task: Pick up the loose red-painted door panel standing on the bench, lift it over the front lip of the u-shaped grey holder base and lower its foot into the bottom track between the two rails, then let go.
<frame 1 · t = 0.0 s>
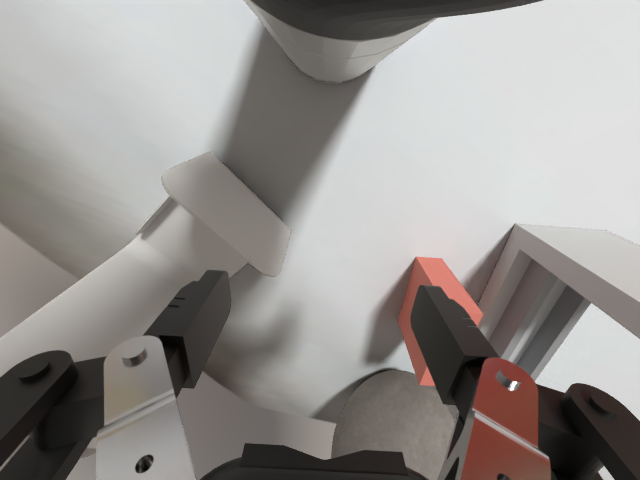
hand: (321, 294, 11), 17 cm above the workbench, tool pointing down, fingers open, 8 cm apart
u-shaped grey holder: (514, 311, 34), on the workbench
wall lamp: (195, 247, 30), on the workbench
planter: (374, 376, 41), on the workbench
door panel: (418, 291, 33), on the workbench
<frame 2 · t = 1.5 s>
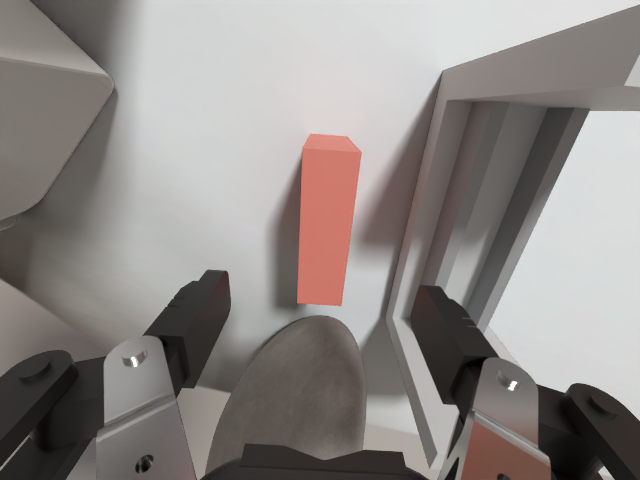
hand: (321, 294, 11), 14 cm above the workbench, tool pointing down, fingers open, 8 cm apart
u-shaped grey holder: (460, 224, 25), on the workbench
planter: (292, 331, 31), on the workbench
door panel: (324, 194, 24), on the workbench
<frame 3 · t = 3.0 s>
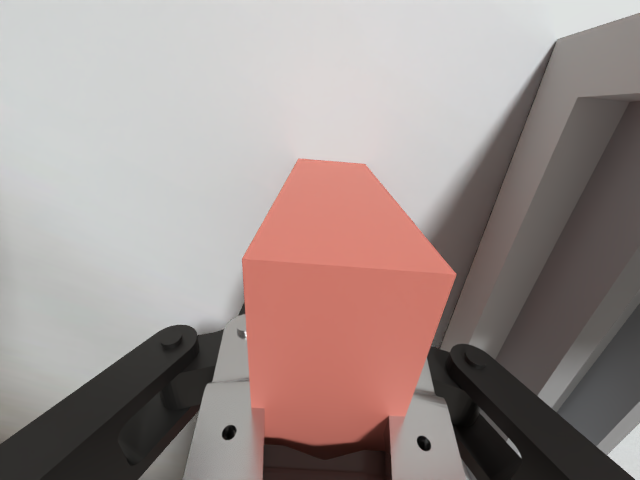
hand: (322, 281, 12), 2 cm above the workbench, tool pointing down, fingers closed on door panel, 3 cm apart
u-shaped grey holder: (544, 303, 15), on the workbench
door panel: (322, 257, 14), on the workbench, touching gripper
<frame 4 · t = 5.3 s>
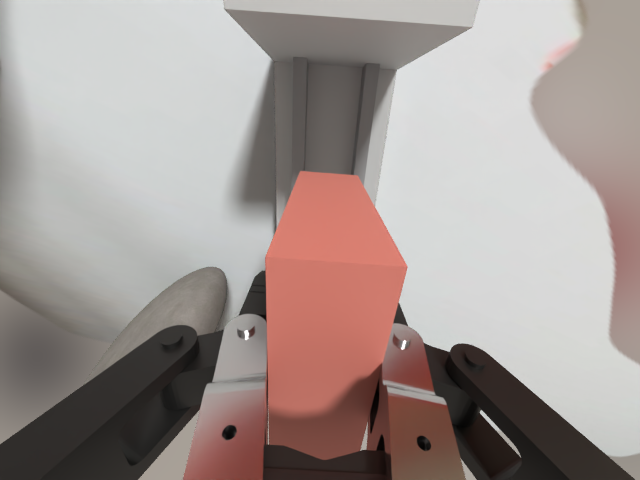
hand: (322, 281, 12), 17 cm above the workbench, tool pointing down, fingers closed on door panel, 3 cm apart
u-shaped grey holder: (326, 181, 27), on the workbench
planter: (199, 288, 34), on the workbench
door panel: (321, 256, 16), point 14 cm above the workbench, touching gripper
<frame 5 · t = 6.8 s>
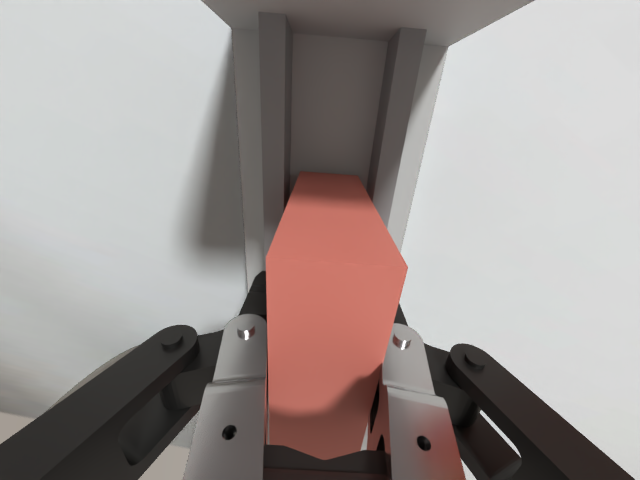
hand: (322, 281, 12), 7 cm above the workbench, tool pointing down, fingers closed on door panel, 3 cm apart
u-shaped grey holder: (324, 222, 18), on the workbench
planter: (147, 358, 25), on the workbench
door panel: (321, 256, 16), point 3 cm above the workbench, touching gripper
when the fingers open (6 cm above the workbench, at t = 7.4 s): door panel stays where it is, resting on u-shaped grey holder.
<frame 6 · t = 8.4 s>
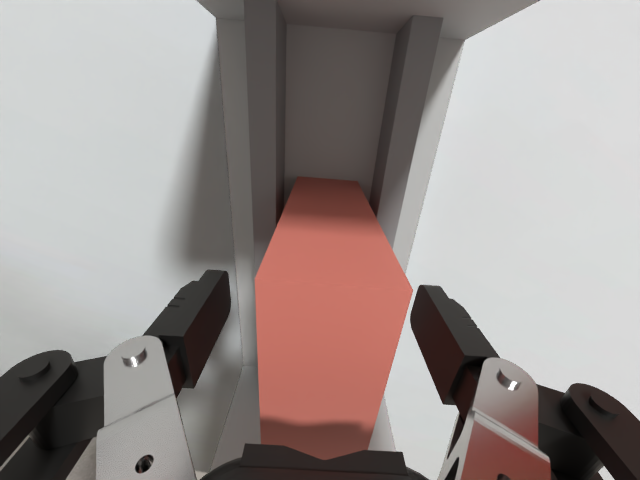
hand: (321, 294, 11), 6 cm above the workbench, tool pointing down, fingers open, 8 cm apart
u-shaped grey holder: (322, 234, 17), on the workbench
planter: (133, 376, 23), on the workbench
door panel: (319, 264, 15), point 2 cm above the workbench, touching u-shaped grey holder
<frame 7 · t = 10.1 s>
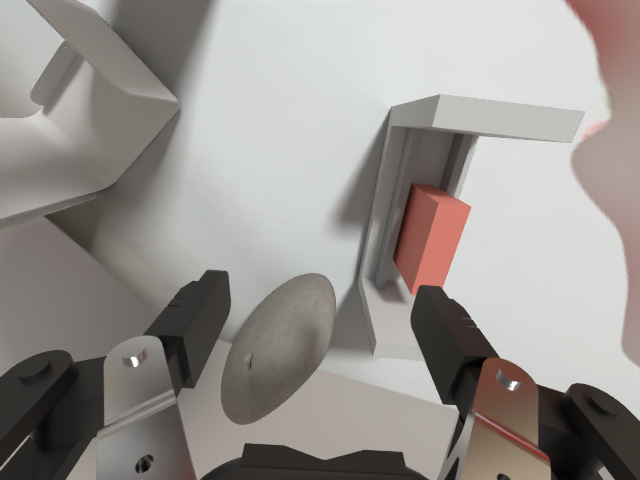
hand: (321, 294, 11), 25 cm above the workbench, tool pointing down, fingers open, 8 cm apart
u-shaped grey holder: (408, 210, 35), on the workbench
wall lamp: (97, 128, 32), on the workbench
planter: (288, 290, 41), on the workbench
door panel: (411, 222, 34), point 2 cm above the workbench, touching u-shaped grey holder
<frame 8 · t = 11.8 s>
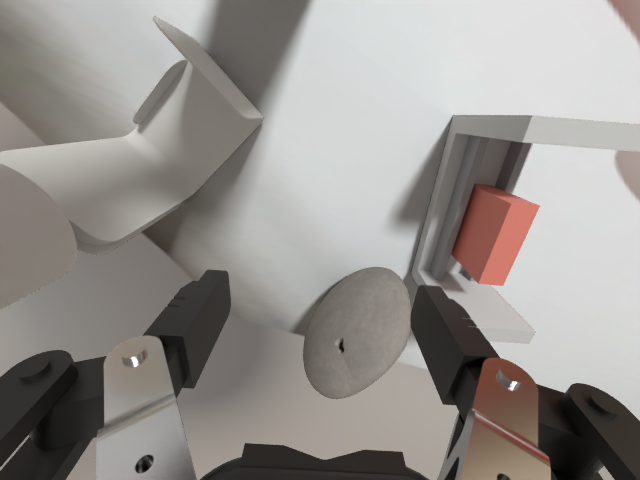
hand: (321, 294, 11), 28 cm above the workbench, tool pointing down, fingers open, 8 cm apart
u-shaped grey holder: (462, 207, 39), on the workbench
wall lamp: (184, 143, 35), on the workbench
planter: (346, 283, 45), on the workbench
door panel: (466, 218, 37), point 2 cm above the workbench, touching u-shaped grey holder
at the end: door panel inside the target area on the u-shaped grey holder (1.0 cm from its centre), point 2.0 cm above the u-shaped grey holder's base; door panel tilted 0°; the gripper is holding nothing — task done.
